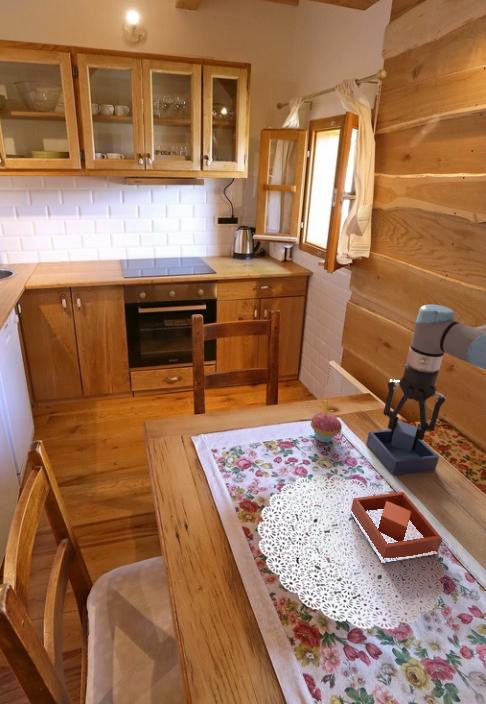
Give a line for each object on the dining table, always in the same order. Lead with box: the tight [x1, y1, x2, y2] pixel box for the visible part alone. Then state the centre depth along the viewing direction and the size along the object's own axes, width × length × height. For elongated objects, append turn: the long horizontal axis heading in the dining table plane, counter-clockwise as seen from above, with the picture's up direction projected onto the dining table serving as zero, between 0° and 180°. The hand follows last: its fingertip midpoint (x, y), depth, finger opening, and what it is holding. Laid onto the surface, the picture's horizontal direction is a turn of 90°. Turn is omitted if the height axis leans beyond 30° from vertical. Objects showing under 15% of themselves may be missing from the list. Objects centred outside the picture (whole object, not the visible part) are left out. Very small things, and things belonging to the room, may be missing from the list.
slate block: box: [391, 420, 418, 453], centre depth 108 cm, size 5×5×5 cm
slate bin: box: [365, 429, 440, 477], centre depth 110 cm, size 13×13×4 cm
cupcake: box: [310, 399, 343, 443], centre depth 115 cm, size 9×8×12 cm
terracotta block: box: [378, 501, 411, 542], centre depth 86 cm, size 5×5×5 cm
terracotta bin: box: [350, 491, 443, 559], centre depth 86 cm, size 13×13×4 cm
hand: (402, 443), depth 109 cm, fingers closed on slate block, 5 cm apart
